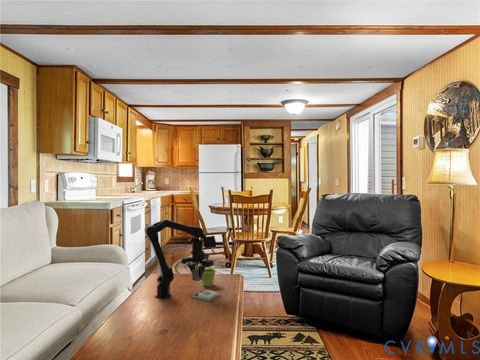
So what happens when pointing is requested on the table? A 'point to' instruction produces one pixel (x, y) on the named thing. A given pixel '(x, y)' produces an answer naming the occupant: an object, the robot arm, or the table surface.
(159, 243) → the robot arm
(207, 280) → the plant pot
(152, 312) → the table surface
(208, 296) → the board
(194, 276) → the plug
